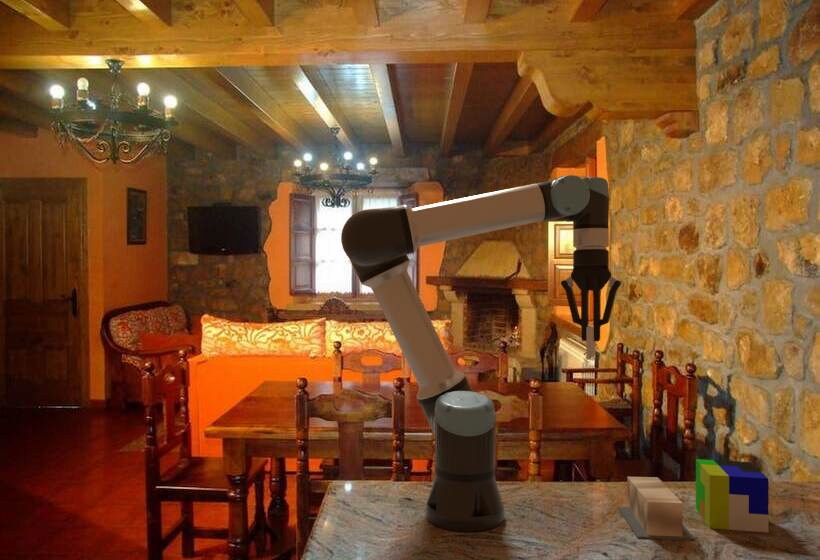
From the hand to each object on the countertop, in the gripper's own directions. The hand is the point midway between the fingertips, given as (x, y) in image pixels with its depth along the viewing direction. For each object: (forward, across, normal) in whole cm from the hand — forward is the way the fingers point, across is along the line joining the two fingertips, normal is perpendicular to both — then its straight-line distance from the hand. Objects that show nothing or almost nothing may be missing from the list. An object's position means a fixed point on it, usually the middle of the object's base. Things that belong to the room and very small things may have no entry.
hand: (590, 355), depth 135 cm
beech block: (+26, -11, +7) cm, 29 cm away
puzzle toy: (+30, -27, +6) cm, 41 cm away
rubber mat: (+29, -14, +14) cm, 35 cm away
